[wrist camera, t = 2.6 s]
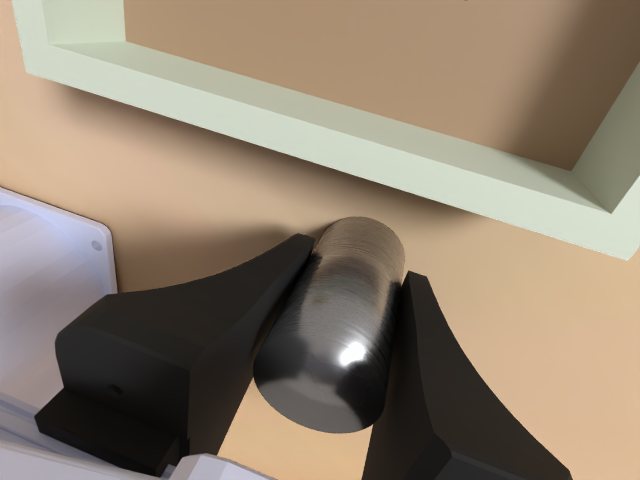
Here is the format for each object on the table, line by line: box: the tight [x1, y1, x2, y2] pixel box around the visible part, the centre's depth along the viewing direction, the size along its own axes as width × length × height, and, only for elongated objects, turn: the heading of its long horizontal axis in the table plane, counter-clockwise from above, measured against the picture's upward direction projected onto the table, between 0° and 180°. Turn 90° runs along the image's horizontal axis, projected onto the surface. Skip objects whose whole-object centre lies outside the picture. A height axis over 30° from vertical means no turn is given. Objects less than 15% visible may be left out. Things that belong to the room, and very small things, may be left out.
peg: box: [253, 217, 405, 433], centre depth 11 cm, size 3×3×6 cm
